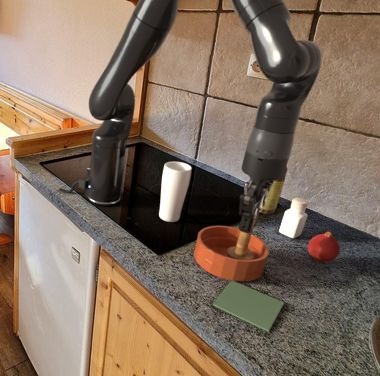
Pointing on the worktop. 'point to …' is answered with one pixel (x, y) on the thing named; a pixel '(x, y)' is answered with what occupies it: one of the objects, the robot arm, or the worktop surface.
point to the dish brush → (242, 246)
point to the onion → (323, 248)
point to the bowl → (217, 249)
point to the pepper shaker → (294, 218)
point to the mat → (249, 305)
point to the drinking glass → (174, 190)
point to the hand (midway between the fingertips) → (246, 228)
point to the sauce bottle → (273, 196)
